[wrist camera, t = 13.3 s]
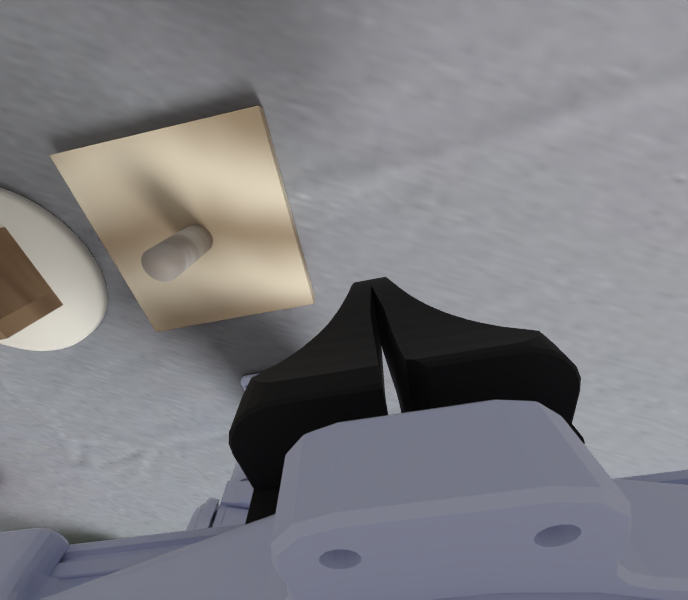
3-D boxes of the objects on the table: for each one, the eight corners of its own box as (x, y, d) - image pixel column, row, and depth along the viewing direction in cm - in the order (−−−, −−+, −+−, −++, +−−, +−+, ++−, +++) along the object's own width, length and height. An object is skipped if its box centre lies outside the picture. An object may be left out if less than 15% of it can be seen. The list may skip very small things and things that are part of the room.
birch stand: (314, 297, 22) (307, 341, 17) (163, 324, 23) (116, 374, 18) (262, 107, 16) (230, 93, 11) (64, 154, 17) (-44, 160, 12)
